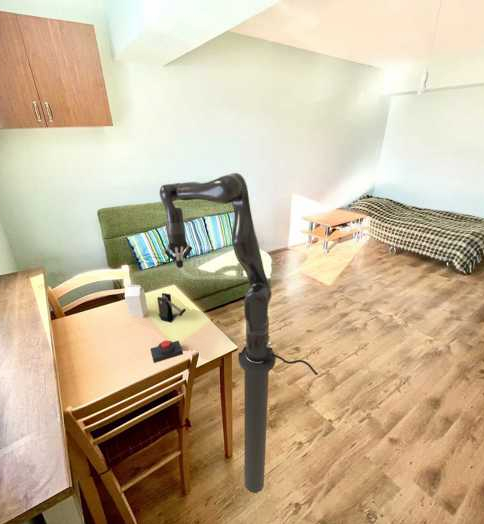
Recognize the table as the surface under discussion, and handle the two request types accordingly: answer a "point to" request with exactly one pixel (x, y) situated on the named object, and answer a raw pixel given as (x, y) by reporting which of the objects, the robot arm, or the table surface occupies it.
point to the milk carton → (136, 301)
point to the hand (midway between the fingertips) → (180, 267)
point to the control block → (166, 352)
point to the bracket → (165, 309)
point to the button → (165, 344)
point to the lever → (174, 306)
